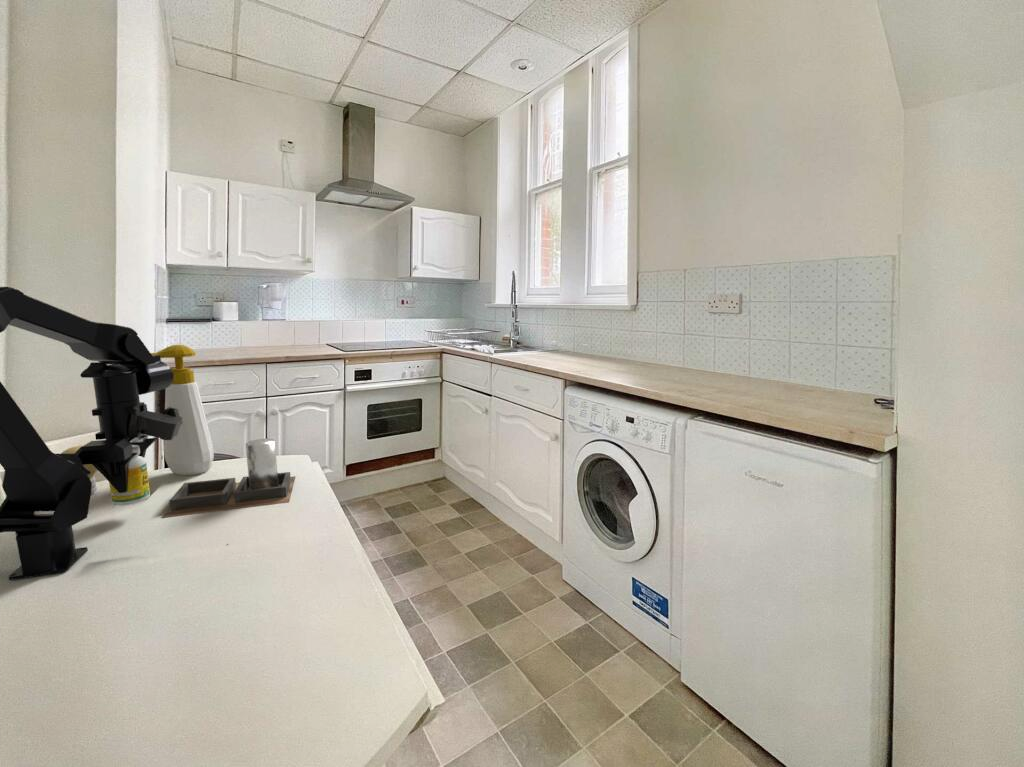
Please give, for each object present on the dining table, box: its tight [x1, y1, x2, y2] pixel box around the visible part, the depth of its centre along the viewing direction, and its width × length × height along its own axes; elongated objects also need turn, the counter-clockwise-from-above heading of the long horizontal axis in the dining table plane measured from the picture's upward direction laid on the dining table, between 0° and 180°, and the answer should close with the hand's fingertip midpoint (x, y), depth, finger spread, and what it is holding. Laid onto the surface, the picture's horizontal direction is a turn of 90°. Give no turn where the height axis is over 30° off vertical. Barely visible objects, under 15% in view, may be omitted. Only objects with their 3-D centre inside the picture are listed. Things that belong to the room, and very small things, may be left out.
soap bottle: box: [150, 344, 215, 476], centre depth 101 cm, size 13×10×29 cm
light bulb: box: [60, 445, 98, 495], centre depth 93 cm, size 6×6×10 cm
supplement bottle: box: [108, 445, 151, 506], centre depth 83 cm, size 5×5×10 cm
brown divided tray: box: [160, 471, 296, 519], centre depth 90 cm, size 14×20×4 cm
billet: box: [245, 438, 279, 490], centre depth 91 cm, size 5×5×10 cm
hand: (129, 486), depth 83 cm, fingers closed on supplement bottle, 5 cm apart
